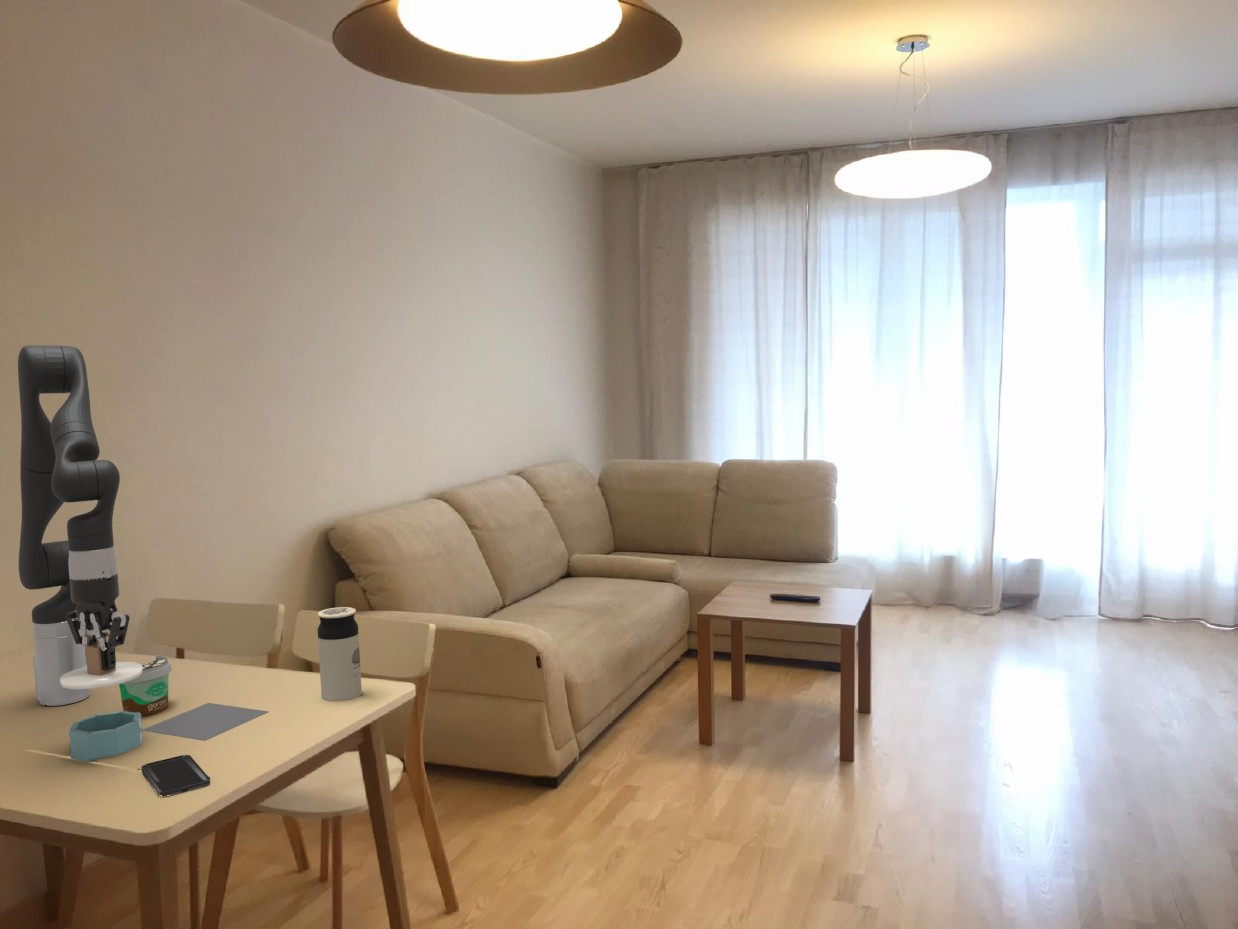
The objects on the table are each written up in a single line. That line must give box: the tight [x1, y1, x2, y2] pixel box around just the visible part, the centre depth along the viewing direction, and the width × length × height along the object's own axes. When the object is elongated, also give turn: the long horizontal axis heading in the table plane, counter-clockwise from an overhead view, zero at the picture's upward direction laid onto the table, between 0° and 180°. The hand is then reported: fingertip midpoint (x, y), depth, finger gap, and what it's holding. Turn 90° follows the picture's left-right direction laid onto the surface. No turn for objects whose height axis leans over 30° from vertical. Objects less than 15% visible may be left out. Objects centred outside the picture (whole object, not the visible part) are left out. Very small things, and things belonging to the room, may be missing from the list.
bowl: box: [68, 710, 144, 763], centre depth 175 cm, size 11×11×5 cm
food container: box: [118, 655, 173, 718], centre depth 194 cm, size 12×6×10 cm, turn 168°
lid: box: [60, 642, 143, 690], centre depth 174 cm, size 13×13×6 cm
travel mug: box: [317, 606, 363, 702], centre depth 200 cm, size 8×8×18 cm
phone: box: [141, 754, 211, 796], centre depth 162 cm, size 8×1×15 cm
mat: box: [142, 702, 270, 742], centre depth 187 cm, size 16×16×1 cm
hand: (101, 668), depth 174 cm, fingers closed on lid, 3 cm apart
